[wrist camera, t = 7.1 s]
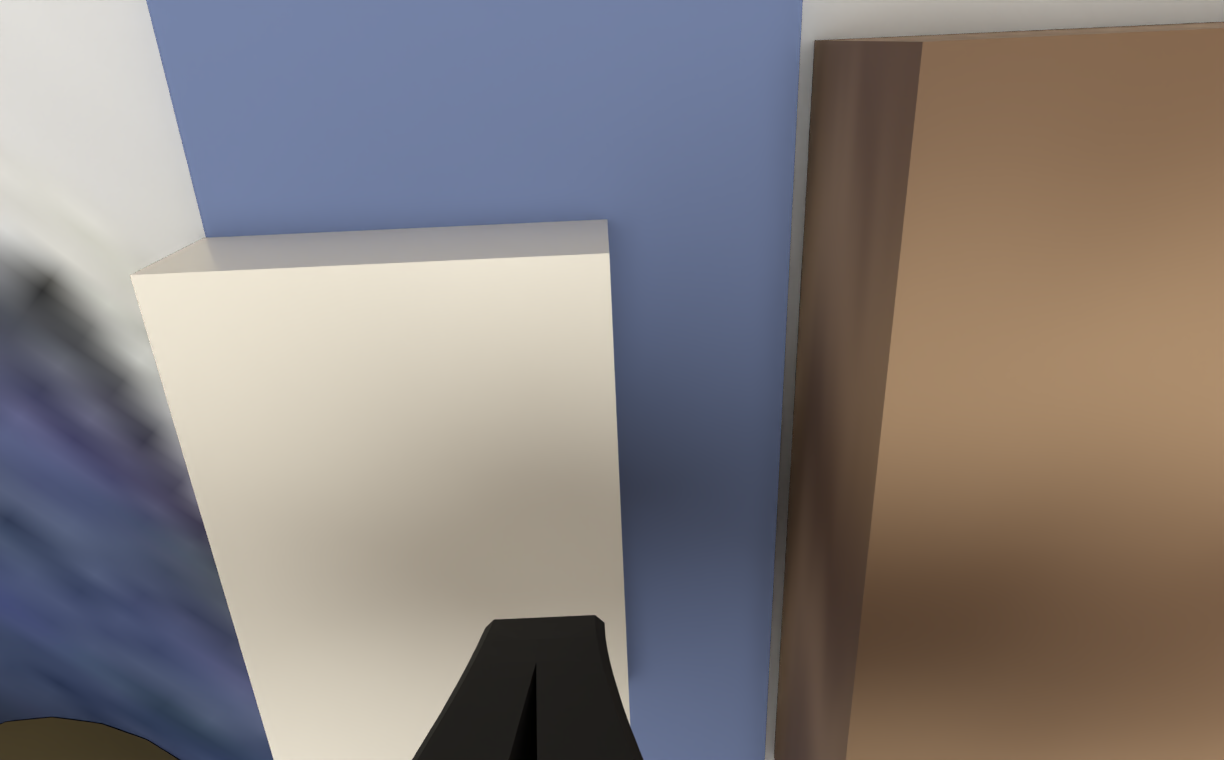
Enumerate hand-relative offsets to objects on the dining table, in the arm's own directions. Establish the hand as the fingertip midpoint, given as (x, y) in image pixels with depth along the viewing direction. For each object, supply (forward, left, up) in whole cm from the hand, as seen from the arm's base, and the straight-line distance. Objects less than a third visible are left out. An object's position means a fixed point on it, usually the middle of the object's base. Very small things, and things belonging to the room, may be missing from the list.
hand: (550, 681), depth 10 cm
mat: (0, +1, -5) cm, 5 cm away
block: (0, +2, -2) cm, 3 cm away
